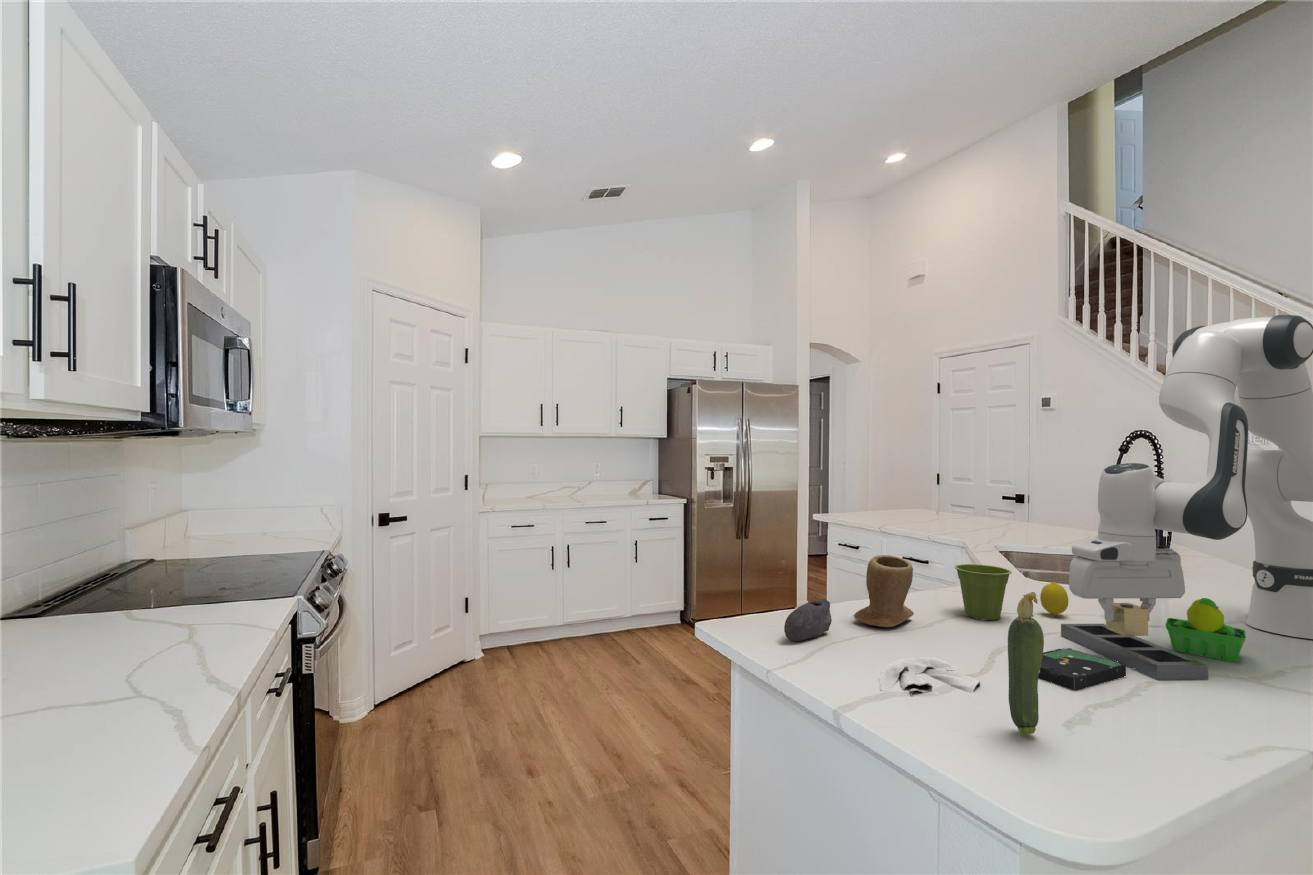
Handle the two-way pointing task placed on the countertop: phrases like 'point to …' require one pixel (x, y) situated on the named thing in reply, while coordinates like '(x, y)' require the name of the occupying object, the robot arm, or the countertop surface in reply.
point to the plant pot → (982, 589)
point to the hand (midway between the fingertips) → (1126, 621)
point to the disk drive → (1078, 669)
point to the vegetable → (1024, 666)
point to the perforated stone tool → (808, 620)
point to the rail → (1136, 652)
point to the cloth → (938, 670)
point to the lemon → (1054, 598)
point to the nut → (1129, 620)
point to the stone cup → (887, 591)
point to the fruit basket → (1205, 633)
